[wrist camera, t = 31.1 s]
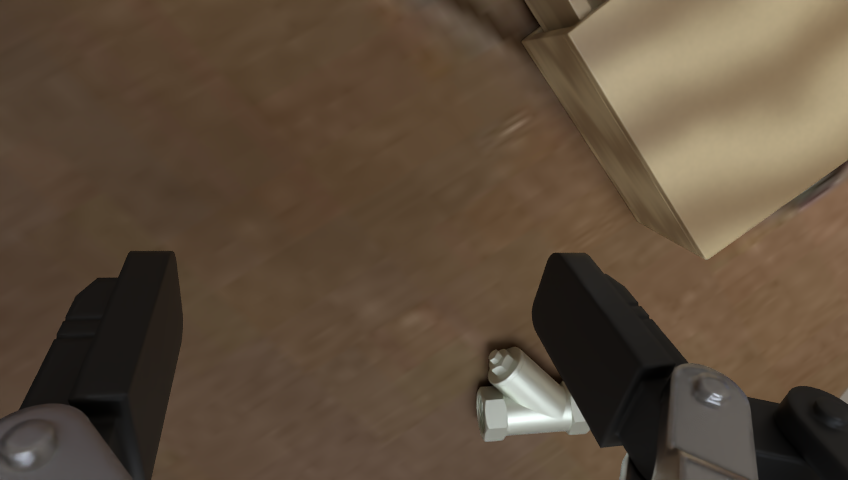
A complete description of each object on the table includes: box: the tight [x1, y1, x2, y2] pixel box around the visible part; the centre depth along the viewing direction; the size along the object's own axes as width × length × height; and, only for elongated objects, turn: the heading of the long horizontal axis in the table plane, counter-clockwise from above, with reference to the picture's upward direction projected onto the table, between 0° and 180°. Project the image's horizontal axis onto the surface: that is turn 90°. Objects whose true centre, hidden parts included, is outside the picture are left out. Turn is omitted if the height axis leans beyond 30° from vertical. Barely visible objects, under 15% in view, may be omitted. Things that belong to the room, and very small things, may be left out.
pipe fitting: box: [476, 347, 590, 442], centre depth 40 cm, size 8×4×7 cm
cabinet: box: [521, 0, 848, 260], centre depth 32 cm, size 15×13×8 cm
